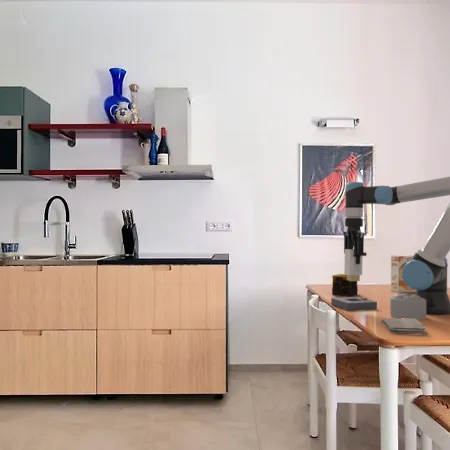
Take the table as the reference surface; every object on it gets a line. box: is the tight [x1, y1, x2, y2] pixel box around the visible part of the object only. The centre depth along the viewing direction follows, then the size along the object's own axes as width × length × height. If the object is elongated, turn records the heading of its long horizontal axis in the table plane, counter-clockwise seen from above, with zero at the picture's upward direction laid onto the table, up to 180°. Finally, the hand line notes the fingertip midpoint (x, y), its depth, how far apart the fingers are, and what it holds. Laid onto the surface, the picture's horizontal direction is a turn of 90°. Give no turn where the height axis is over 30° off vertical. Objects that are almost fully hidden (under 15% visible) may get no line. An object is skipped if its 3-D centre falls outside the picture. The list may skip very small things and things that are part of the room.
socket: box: [330, 296, 378, 311], centre depth 197 cm, size 14×14×4 cm
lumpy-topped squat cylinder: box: [389, 292, 427, 320], centre depth 177 cm, size 10×13×9 cm
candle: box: [331, 273, 359, 297], centre depth 232 cm, size 10×10×10 cm
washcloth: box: [381, 317, 427, 335], centre depth 156 cm, size 12×18×3 cm, turn 172°
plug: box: [343, 248, 368, 282], centre depth 198 cm, size 9×4×14 cm, turn 105°
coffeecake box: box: [390, 254, 417, 294], centre depth 244 cm, size 15×7×20 cm, turn 105°
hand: (353, 270), depth 198 cm, fingers closed on plug, 4 cm apart
